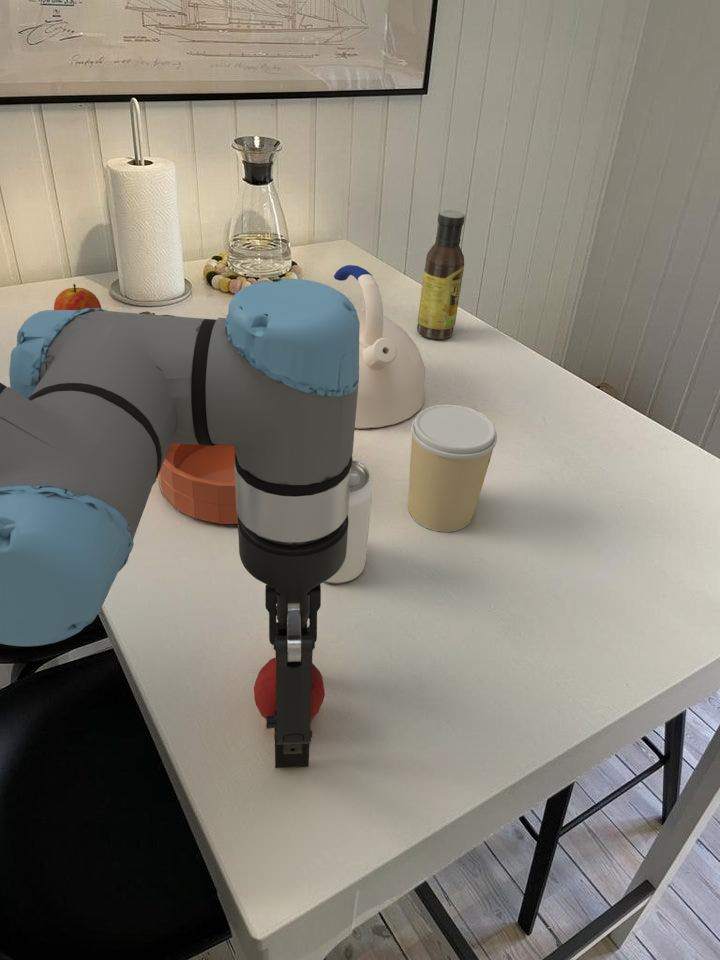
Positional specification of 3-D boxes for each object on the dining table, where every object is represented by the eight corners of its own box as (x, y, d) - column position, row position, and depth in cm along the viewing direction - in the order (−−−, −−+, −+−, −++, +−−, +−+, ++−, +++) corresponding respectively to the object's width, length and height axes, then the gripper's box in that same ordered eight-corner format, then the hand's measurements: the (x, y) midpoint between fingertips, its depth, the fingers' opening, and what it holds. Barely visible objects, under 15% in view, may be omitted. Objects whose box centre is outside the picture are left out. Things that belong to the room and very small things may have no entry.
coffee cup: (496, 521, 88) (516, 436, 81) (432, 546, 83) (447, 458, 76) (447, 478, 94) (462, 395, 87) (385, 500, 90) (395, 414, 82)
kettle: (307, 440, 99) (312, 311, 88) (270, 365, 114) (270, 247, 103) (448, 421, 105) (468, 299, 94) (394, 352, 120) (407, 241, 109)
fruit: (55, 325, 119) (46, 277, 115) (100, 319, 122) (93, 272, 117) (61, 344, 114) (52, 295, 110) (108, 338, 117) (101, 289, 112)
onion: (318, 687, 67) (321, 626, 63) (326, 743, 63) (331, 683, 58) (252, 693, 66) (251, 632, 62) (256, 751, 62) (255, 690, 57)
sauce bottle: (451, 344, 124) (470, 223, 112) (413, 338, 125) (428, 217, 113) (455, 328, 129) (473, 210, 117) (419, 322, 130) (434, 205, 118)
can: (337, 536, 84) (343, 447, 77) (377, 567, 80) (387, 477, 73) (292, 560, 80) (293, 470, 73) (331, 595, 77) (337, 503, 69)
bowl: (149, 528, 83) (143, 485, 79) (169, 435, 97) (165, 395, 94) (315, 528, 85) (316, 485, 81) (310, 437, 99) (311, 398, 95)
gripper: (361, 629, 43) (342, 833, 57) (339, 427, 60) (328, 622, 73) (228, 632, 42) (241, 838, 56) (243, 426, 59) (251, 624, 72)
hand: (291, 715), depth 64 cm, fingers open, 8 cm apart
